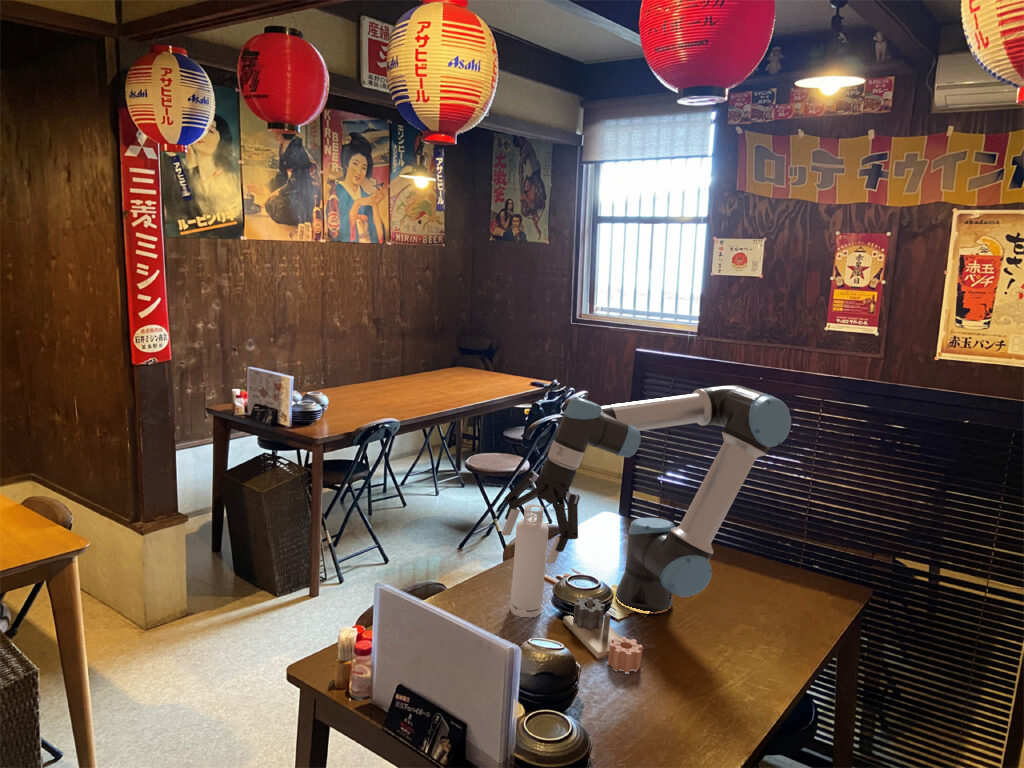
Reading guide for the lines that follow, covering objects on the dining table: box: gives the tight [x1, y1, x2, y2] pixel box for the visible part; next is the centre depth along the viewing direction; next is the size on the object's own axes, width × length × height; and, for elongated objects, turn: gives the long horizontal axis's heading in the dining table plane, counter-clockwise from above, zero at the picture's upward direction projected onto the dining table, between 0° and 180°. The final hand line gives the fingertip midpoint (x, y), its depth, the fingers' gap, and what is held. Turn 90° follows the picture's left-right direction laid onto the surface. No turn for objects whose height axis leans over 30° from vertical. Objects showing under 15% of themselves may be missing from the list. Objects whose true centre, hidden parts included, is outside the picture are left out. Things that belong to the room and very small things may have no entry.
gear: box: [607, 636, 643, 673], centre depth 168 cm, size 7×7×5 cm
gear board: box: [562, 596, 622, 659], centre depth 179 cm, size 9×17×8 cm, turn 24°
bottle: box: [509, 503, 549, 618], centre depth 187 cm, size 8×8×28 cm
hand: (527, 548), depth 169 cm, fingers open, 13 cm apart
